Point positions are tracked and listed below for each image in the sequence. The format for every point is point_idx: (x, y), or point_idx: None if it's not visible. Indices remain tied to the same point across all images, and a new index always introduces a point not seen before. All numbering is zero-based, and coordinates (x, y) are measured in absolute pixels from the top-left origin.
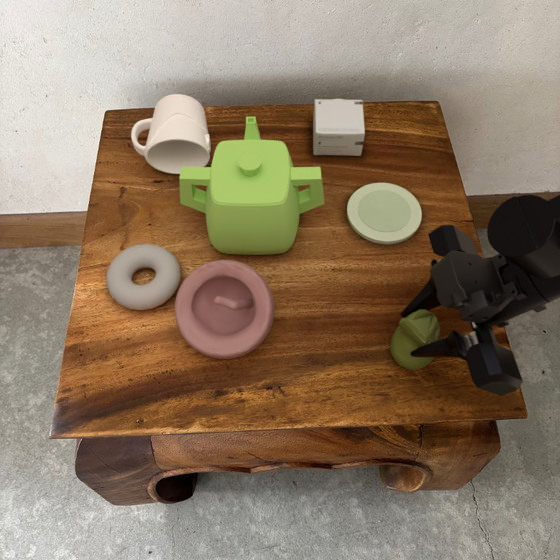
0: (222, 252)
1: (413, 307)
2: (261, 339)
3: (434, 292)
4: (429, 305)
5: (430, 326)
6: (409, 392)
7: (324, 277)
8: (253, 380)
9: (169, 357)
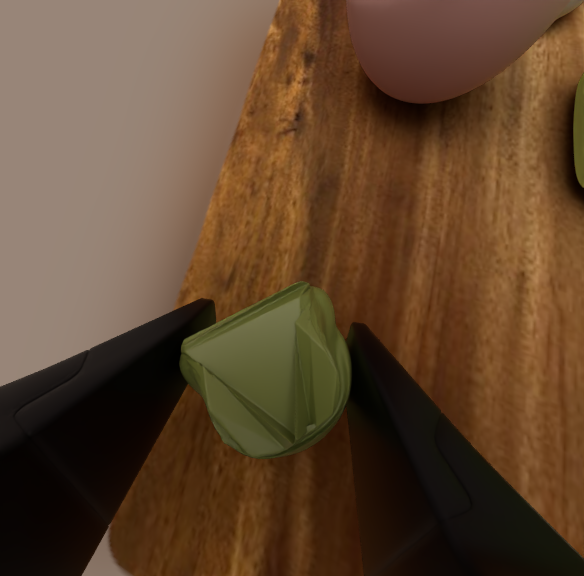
0: (581, 77)
1: (368, 363)
2: (368, 10)
3: (442, 554)
4: (364, 452)
5: (226, 394)
6: None
7: (503, 252)
8: (315, 99)
9: None
